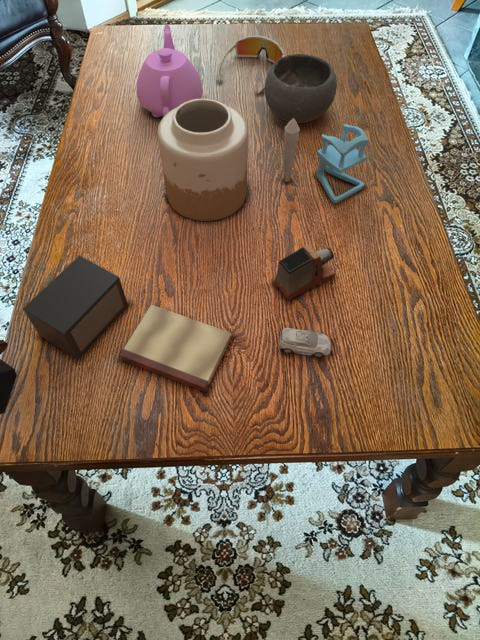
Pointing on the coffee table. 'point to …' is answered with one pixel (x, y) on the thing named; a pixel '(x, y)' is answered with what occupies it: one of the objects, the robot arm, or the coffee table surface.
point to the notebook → (176, 347)
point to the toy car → (304, 342)
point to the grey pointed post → (290, 147)
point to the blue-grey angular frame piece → (341, 160)
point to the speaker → (77, 306)
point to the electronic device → (303, 271)
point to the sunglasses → (256, 49)
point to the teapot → (167, 79)
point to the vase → (204, 159)
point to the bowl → (300, 87)
